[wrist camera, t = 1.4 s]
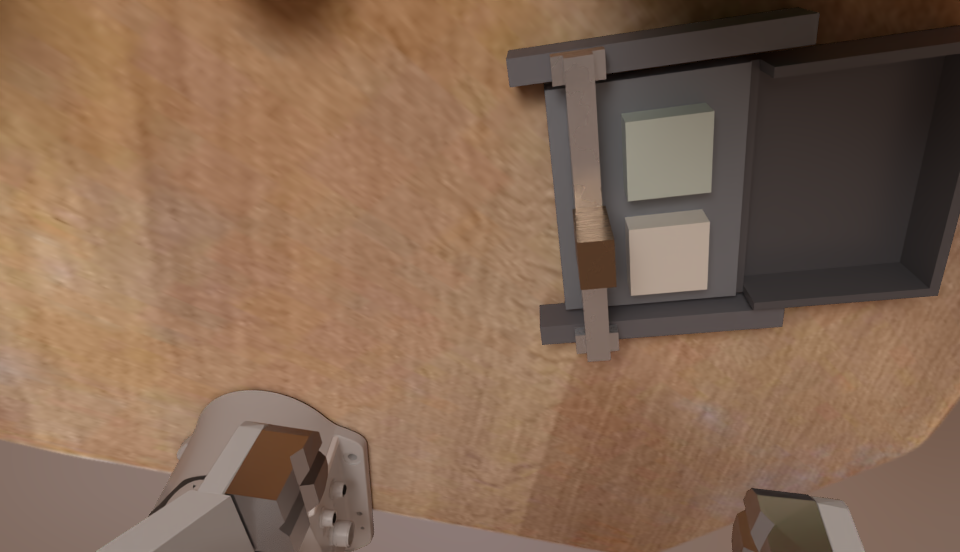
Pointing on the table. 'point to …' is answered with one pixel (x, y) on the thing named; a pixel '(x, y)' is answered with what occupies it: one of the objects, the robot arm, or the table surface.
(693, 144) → the sage tile
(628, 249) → the cream tile
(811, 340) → the table surface
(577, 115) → the bar
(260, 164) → the table surface
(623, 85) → the grey railed tray
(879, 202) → the box
